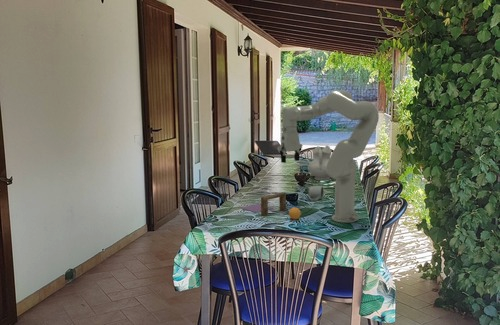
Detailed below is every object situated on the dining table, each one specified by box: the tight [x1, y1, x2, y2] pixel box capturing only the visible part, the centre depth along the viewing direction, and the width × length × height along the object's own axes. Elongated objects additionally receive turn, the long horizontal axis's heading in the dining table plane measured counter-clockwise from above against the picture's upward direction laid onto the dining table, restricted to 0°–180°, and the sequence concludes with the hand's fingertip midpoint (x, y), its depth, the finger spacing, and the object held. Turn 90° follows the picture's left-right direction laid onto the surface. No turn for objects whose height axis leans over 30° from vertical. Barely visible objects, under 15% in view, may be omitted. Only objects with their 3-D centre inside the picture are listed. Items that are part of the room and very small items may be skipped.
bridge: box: [260, 192, 287, 217], centre depth 238 cm, size 3×15×10 cm, turn 128°
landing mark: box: [241, 203, 274, 213], centre depth 249 cm, size 13×13×1 cm
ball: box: [288, 207, 302, 220], centre depth 226 cm, size 6×6×6 cm
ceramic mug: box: [307, 185, 325, 202], centre depth 268 cm, size 11×8×8 cm
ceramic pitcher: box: [308, 145, 333, 182], centre depth 326 cm, size 22×20×25 cm
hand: (290, 161), depth 242 cm, fingers open, 9 cm apart
